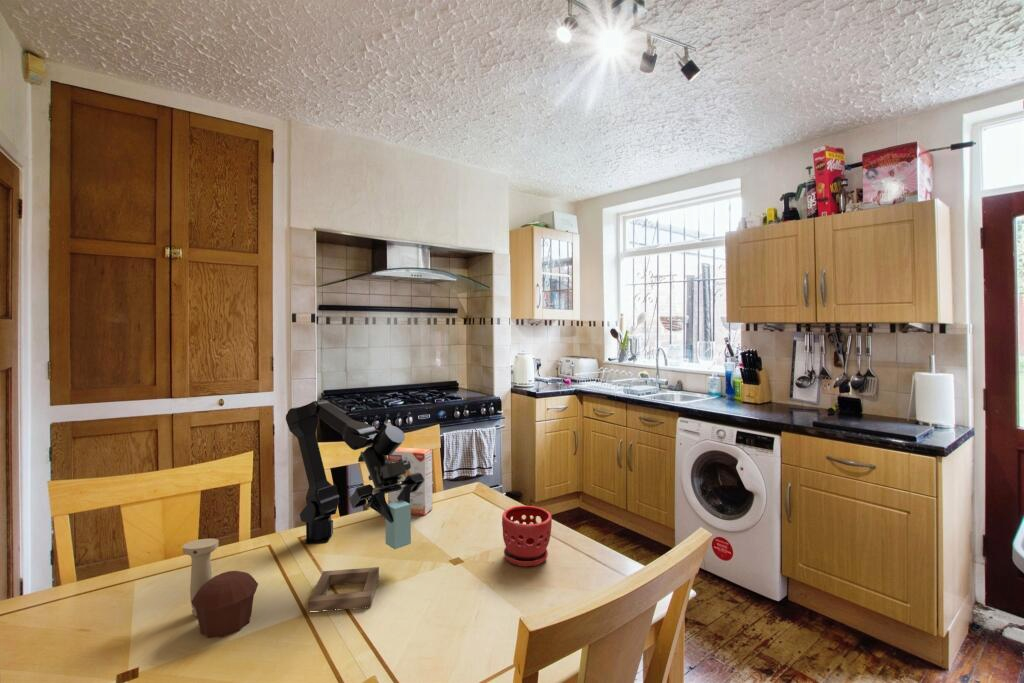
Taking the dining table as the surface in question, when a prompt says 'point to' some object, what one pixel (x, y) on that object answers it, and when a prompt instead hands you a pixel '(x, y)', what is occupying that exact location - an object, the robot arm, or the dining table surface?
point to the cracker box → (419, 464)
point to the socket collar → (346, 600)
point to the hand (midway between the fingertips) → (400, 519)
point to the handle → (200, 563)
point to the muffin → (225, 603)
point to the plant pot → (526, 535)
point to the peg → (399, 525)
